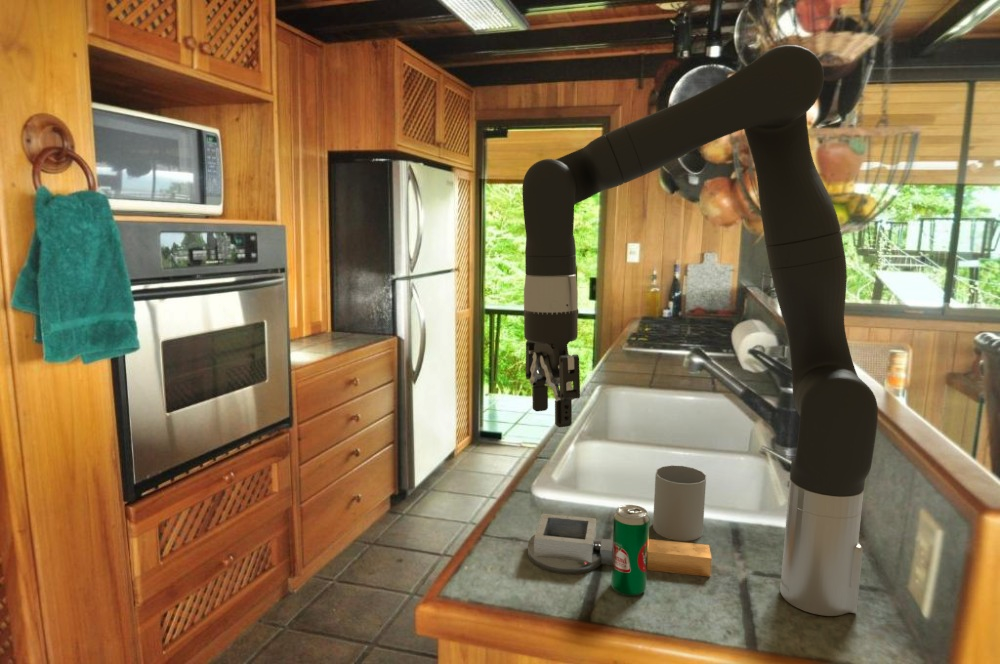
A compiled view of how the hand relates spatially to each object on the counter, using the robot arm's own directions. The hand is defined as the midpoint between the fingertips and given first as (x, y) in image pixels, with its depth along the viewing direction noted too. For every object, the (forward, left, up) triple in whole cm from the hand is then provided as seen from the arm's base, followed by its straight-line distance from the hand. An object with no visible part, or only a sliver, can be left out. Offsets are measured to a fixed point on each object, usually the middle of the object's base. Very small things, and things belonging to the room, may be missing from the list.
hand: (551, 417), depth 98 cm
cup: (-20, -20, -25) cm, 37 cm away
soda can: (-12, +1, -25) cm, 27 cm away
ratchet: (-10, -7, -24) cm, 27 cm away
